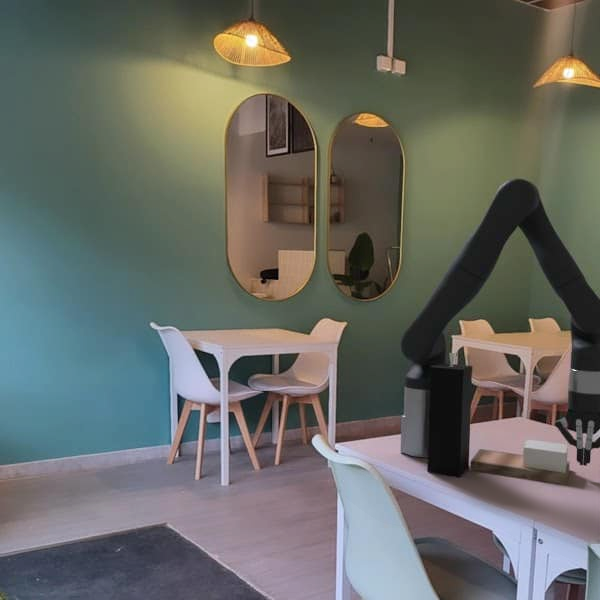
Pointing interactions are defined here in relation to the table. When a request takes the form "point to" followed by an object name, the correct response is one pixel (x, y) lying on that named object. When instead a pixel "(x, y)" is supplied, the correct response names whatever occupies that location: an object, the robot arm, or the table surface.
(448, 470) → the black rectangular column
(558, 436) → the table surface
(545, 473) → the podium
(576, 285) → the robot arm
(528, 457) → the carton
